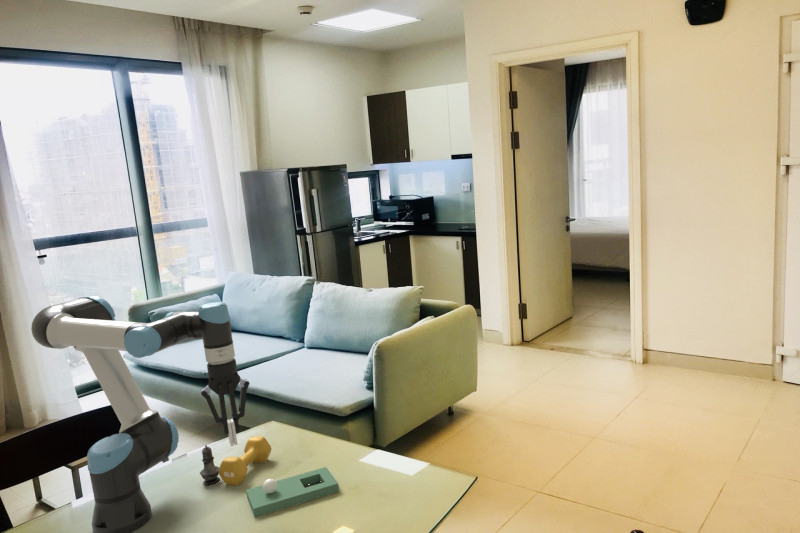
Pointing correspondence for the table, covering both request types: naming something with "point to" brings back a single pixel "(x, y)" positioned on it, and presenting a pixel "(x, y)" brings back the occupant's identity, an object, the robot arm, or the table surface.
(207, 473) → the dark grey chess piece
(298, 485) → the green
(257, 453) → the dumbbell
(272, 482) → the ball
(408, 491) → the table surface
